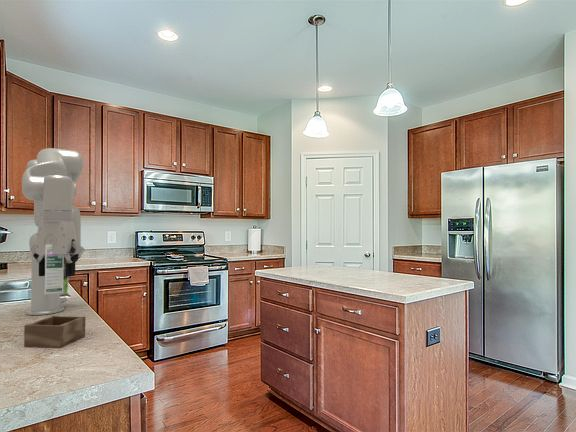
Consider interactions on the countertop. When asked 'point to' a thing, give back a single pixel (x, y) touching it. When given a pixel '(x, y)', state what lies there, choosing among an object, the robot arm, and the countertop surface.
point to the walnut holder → (54, 331)
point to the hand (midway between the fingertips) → (56, 275)
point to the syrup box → (55, 272)
